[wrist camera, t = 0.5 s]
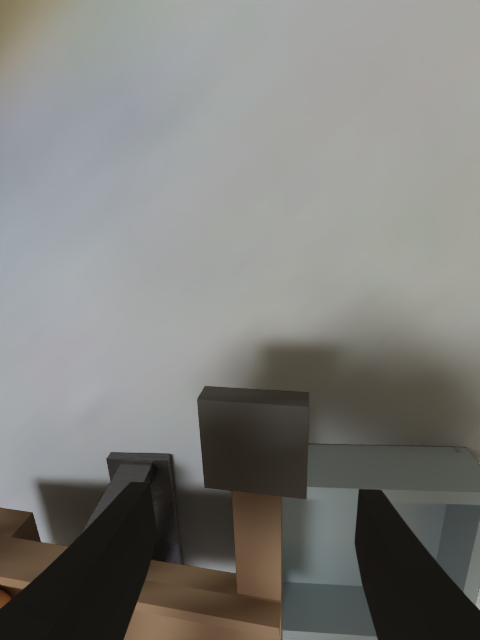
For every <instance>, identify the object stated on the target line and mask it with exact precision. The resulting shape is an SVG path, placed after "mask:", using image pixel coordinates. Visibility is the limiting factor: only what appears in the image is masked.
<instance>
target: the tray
mask: <svg viewBox="0 0 480 640" xmlns="http://www.w3.org/2000/svg"><path fill="white" fill-rule="evenodd" d="M359 489H376V490H382V491H383V492H384V494H385V495H386V496H387V498H388V499H389V501H390V502H391V503H392V505H393V506H394V507H395V509H396V510H397V511H398V513H399V514H400V516H401V517H402V518H403V520H404V521H405V522H406V523H407V525H408V526H409V527H410V529H411V530H412V531H413V533H414V534H415V535H416V536H417V538H418V539H419V540H420V542H421V543H422V544H423V545H424V546H425V548H426V549H427V550H428V551H429V553H430V554H431V555H432V556H433V557H434V559H435V560H436V561H437V562H438V564H439V565H440V566H441V567H442V568H443V569H444V571H445V572H446V573H447V574H448V575H449V576H450V578H451V579H452V580H453V581H454V582H455V583H456V585H457V586H458V587H459V588H460V589H461V590H462V591H463V592H464V593H465V595H466V596H467V597H468V598H469V599H470V600H471V601H472V602H473V603H474V605H476V600H477V596H478V592H479V588H480V464H479V463H478V462H477V460H476V459H475V458H474V457H473V455H472V454H471V453H470V452H469V450H468V449H467V448H466V447H425V446H378V445H330V444H308V468H307V499H298V498H289V497H282V581H283V622H282V639H293V640H378V638H377V635H376V632H375V628H374V625H373V621H372V618H371V614H370V611H369V607H368V604H367V600H366V597H365V593H364V589H363V586H362V582H361V576H360V571H359V566H358V560H357V555H356V549H355V544H354V541H355V529H356V517H357V505H358V493H359Z"/></svg>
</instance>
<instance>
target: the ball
mask: <svg viewBox="0 0 480 640" xmlns="http://www.w3.org/2000/svg"><path fill="white" fill-rule="evenodd" d="M11 599H12V598H11V597H10V596H9V595H8V594H7V593H6V592H4V591H2V590H0V608H2V607H3V606H4V605H5V604H6V603H7V602H9V601H10V600H11Z"/></svg>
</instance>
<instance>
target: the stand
mask: <svg viewBox="0 0 480 640" xmlns="http://www.w3.org/2000/svg"><path fill="white" fill-rule="evenodd" d="M107 464H108V470H109V475H110V481H111V482H110V484H109V486H108V487H107V489H106V491H105V493H104V494H103V496H102V498H101V500H100V501H99V503H98V505H97V507H96V508H95V510H94V512H93V514H92V515H91V517H90V519H89V521H88V522H87V524H86V526H85V528H84V529H83V531H84V530H85V529H86V528H87V527H88V526H89V525H90V524H91V523H92V522H93V521H94V520H95V519H96V518H97V517H98V516H99V515H100V514H101V513H102V512H103V511H104V509H105V508H106V507H107V506H108V505H109V504H110V503H111V502H112V501H113V500H114V499H115V498H116V496H117V495H118V494H119V493H120V492H121V491H122V490H123V489H124V488H125V487H126V486H127V485H128V484H129V483H130V482H150V486H151V493H152V500H153V507H154V514H155V521H156V527H157V538H156V542H155V546H154V550H153V555H152V558H151V560H155V561H161V562H168V563H174V564H180V565H183V558H182V550H181V541H180V533H179V524H178V516H177V508H176V499H175V491H174V482H173V474H172V465H171V457H170V454H144V453H110V454H109V456H108V457H107ZM83 531H82V533H83ZM82 533H81V534H82Z"/></svg>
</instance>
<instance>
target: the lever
mask: <svg viewBox="0 0 480 640" xmlns="http://www.w3.org/2000/svg"><path fill="white" fill-rule="evenodd" d="M197 403H198V415H199V427H200V439H201V451H202V462H203V474H204V486H205V488H212V489H220V490H229V491H232V506H233V524H234V542H235V560H236V573H230V572H224V571H217V570H211V569H205V568H199V567H192V566H186V565H180V564H174V563H168V562H161V561H155V560H151V562H150V566H149V570H148V573H147V576H146V579H145V582H144V585H143V587H142V590H141V593H140V596H139V599H138V601H137V604H136V607H135V610H134V612H133V615H132V618H131V621H130V623H129V626H128V629H127V632H126V634H125V637H124V640H282V622H283V581H282V497H289V498H298V499H307V468H308V431H309V392H294V391H277V390H261V389H244V388H228V387H211V386H205V387H204V388H203V390H202V392H201V394H200V395H199V397H198V399H197ZM67 548H68V546H61V545H55V544H49V543H43V542H41V541H40V537H39V533H38V530H37V526H36V523H35V519H34V516H33V512H26V511H19V510H12V509H5V508H0V590H2V591H4V592H6V593H7V594H8V595H9V596H10V597H11V598H13V597H15V596H16V595H17V594H18V593H19V592H20V591H22V590H23V589H24V588H25V587H26V586H27V585H28V584H29V583H31V582H32V581H33V580H34V579H35V578H36V577H37V576H38V575H39V574H41V573H42V572H43V571H44V570H45V569H46V568H47V567H48V566H49V565H50V564H51V563H52V562H53V561H54V560H55V559H56V558H57V557H58V556H59V555H60V554H62V553H63V552H64V551H65V550H66V549H67Z"/></svg>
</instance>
